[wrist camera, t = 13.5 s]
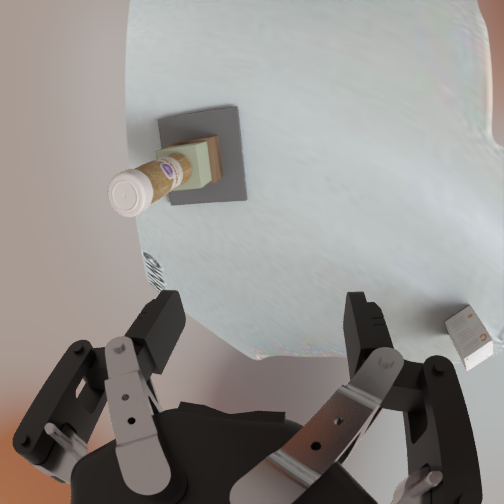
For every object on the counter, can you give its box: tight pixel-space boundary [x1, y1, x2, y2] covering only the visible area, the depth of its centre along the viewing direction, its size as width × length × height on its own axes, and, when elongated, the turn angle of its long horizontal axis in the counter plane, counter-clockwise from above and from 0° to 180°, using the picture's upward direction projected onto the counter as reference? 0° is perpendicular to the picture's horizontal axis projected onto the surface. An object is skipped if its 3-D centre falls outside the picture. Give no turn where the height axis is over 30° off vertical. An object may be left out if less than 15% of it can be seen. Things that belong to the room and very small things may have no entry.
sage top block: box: [156, 142, 212, 191], centre depth 38 cm, size 6×6×5 cm
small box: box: [445, 305, 493, 371], centre depth 47 cm, size 8×6×13 cm
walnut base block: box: [167, 136, 223, 184], centre depth 43 cm, size 7×7×5 cm
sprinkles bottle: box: [108, 153, 192, 217], centre depth 30 cm, size 5×5×13 cm
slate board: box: [158, 107, 247, 205], centre depth 45 cm, size 14×16×1 cm
